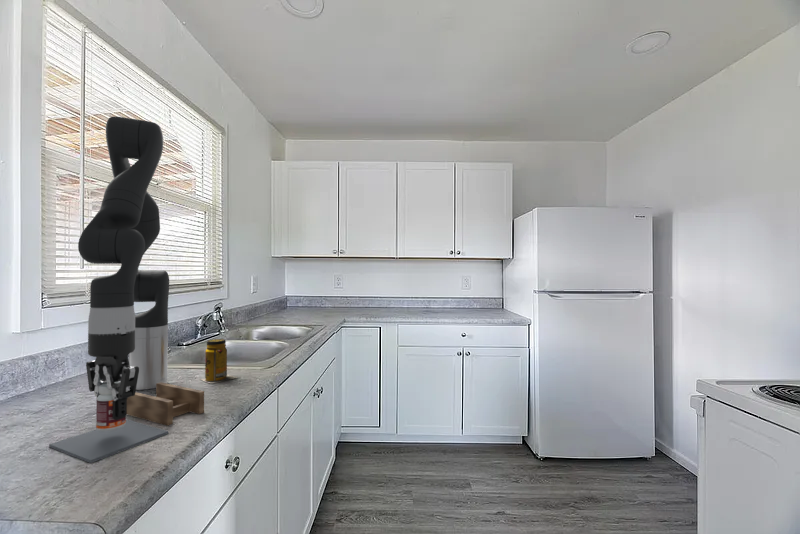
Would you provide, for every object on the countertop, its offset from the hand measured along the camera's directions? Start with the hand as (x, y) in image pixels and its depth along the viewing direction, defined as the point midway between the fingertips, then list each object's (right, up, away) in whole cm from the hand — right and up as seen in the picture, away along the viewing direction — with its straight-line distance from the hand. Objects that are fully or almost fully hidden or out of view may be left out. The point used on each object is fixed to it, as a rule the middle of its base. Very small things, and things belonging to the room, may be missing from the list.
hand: (111, 415), depth 79 cm
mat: (0, -5, 0) cm, 5 cm away
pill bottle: (0, -2, 0) cm, 2 cm away
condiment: (+1, -5, +44) cm, 44 cm away
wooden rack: (+2, -5, +15) cm, 16 cm away
